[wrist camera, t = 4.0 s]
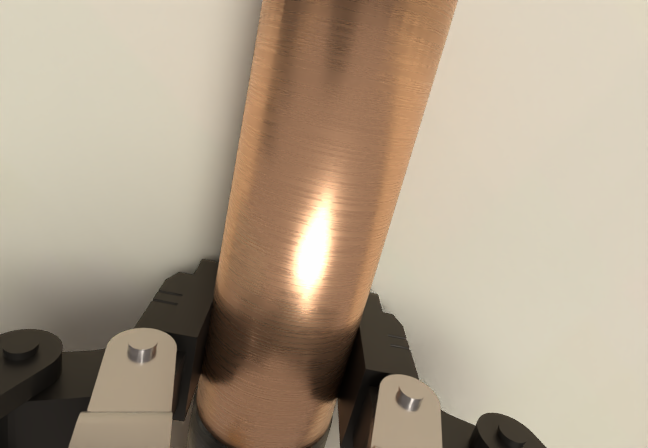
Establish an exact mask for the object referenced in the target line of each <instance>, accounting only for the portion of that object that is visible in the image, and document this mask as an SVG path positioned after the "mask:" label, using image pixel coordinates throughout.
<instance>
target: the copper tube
mask: <svg viewBox="0 0 648 448" xmlns="http://www.w3.org/2000/svg"><path fill="white" fill-rule="evenodd" d="M457 2H458V0H263V2H262V8H261V14H260V19H259V25H258V31H257V37H256V43H255V49H254V55H253V61H252V67H251V73H250V79H249V85H248V91H247V97H246V103H245V109H244V115H243V121H242V127H241V133H240V139H239V145H238V151H237V157H236V163H235V169H234V175H233V181H232V187H231V193H230V199H229V205H228V211H227V217H226V223H225V229H224V234H223V240H222V246H221V252H220V258H219V264H218V270H217V276H216V282H215V288H214V299H213V305H212V311H211V317H210V323H209V329H208V335H207V341H206V347H205V353H204V359H203V365H202V371H201V375H200V378H199V384H198V386H197V388H196V392H195V396H194V402H193V408H192V414H191V420H190V426H189V432H188V438H187V444H186V448H324V447H325V443H326V440H327V437H328V434H329V430H330V427H331V423H332V416H333V410H334V407H335V404H336V401H337V397H338V394H339V391H340V387H341V384H342V381H343V378H344V374H345V371H346V368H347V364H348V361H349V358H350V354H351V351H352V348H353V345H354V341H355V338H356V335H357V331H358V328H359V325H360V322H361V318H362V315H363V312H364V308H365V305H366V302H367V298H368V295H369V292H370V289H371V285H372V282H373V279H374V275H375V272H376V269H377V265H378V262H379V259H380V256H381V252H382V249H383V246H384V242H385V239H386V236H387V233H388V229H389V226H390V223H391V219H392V216H393V213H394V209H395V206H396V203H397V200H398V196H399V193H400V190H401V186H402V183H403V180H404V176H405V173H406V170H407V167H408V163H409V160H410V157H411V153H412V150H413V147H414V144H415V140H416V137H417V134H418V130H419V127H420V124H421V120H422V117H423V114H424V111H425V107H426V104H427V101H428V97H429V94H430V91H431V88H432V84H433V81H434V78H435V74H436V71H437V68H438V64H439V61H440V58H441V55H442V51H443V48H444V45H445V41H446V38H447V35H448V31H449V28H450V25H451V22H452V18H453V15H454V12H455V8H456V5H457Z"/></svg>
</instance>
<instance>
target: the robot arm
mask: <svg viewBox="0 0 648 448" xmlns="http://www.w3.org/2000/svg"><path fill="white" fill-rule="evenodd" d="M218 264H219V262H216V261H211V260H206V259H202V260H201V262H200V264H199V266H198V268H197V270H196V271H195V273H194V275H192V274H187V273H182V272H179V273H177V274H175V275H173V276H171V277H170V278H168V279H166V280H165V282H164V283H163V285H162V286H161V288H160V289H159V292H157V294H156V295H155V297H154V298H153V301H151V303H150V305H149V306H148V308H147V309H146V311H145V312H144V314H143V315H142V317H141V318H140V320H139V321H138V323H137V324H136V326H135V328H134V329H130V330H126V331H123V332H121V333H119V334H117V335H115V336H114V337H113V338H112V339H111V340H110V341H109V342H108V344H107V347H106V348H105V349H101V350H95V351H78V352H62V348H63V346H62V342H61V340H60V339H59V338H58V337H57V336H55V335H54V334H52V333H50V332H47V331H43V330H36V329H24V330H15V331H11V332H7V333H4V334H1V335H0V448H170V440H171V428H172V419H173V420H179V421H184V420H185V417H186V414H187V412H188V409H189V406H190V403H191V400H192V398H193V395H194V392H195V389H196V386H197V384H198V381H199V378H200V375H201V371H202V365H203V359H204V353H205V347H206V341H207V335H208V329H209V323H210V317H211V311H212V305H213V299H214V288H215V282H216V276H217V270H218ZM338 415H339V433H340V448H546V447H545V446H544V445H543V443H542V442H541V441H540V440H539V439H538V438H537V437H536V436H535V435H534V434H533V433H532V432H531V431H530V430H529V429H528V428H527V427H525V426H524V425H523V424H521V423H520V422H518V421H516V420H515V419H513V418H511V417H508V416H506V415H503V414H498V413H486V414H484V415H482V416H481V417H480V418H479V419H478V421H477V424H476V426H475V425H472V424H470V423H468V422H465V421H463V420H461V419H458V418H456V417H454V416H451V415H449V414H447V413H446V412H444V411H442V410H441V407H440V401H439V399H438V397H437V395H436V394H435V393H434V391H433V390H432V389H431V388H430V387H428V386H427V385H426V384H425V383H423V382H421V381H420V380H419V378H418V375H417V371H416V368H415V365H414V361H413V358H412V355H411V352H410V350H409V345H408V342H407V340H406V335H405V332H404V329H403V326H402V325H401V323H400V322H399V321H398V320H397V319H396V318H395V316H394V315H393V314H389V313H384V312H382V309H381V305H380V301H379V296H378V294H374V293H369V295H368V298H367V302H366V305H365V308H364V312H363V315H362V318H361V322H360V325H359V328H358V331H357V335H356V338H355V341H354V345H353V348H352V351H351V354H350V358H349V361H348V364H347V368H346V371H345V374H344V378H343V381H342V384H341V387H340V391H339V394H338Z"/></svg>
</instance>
